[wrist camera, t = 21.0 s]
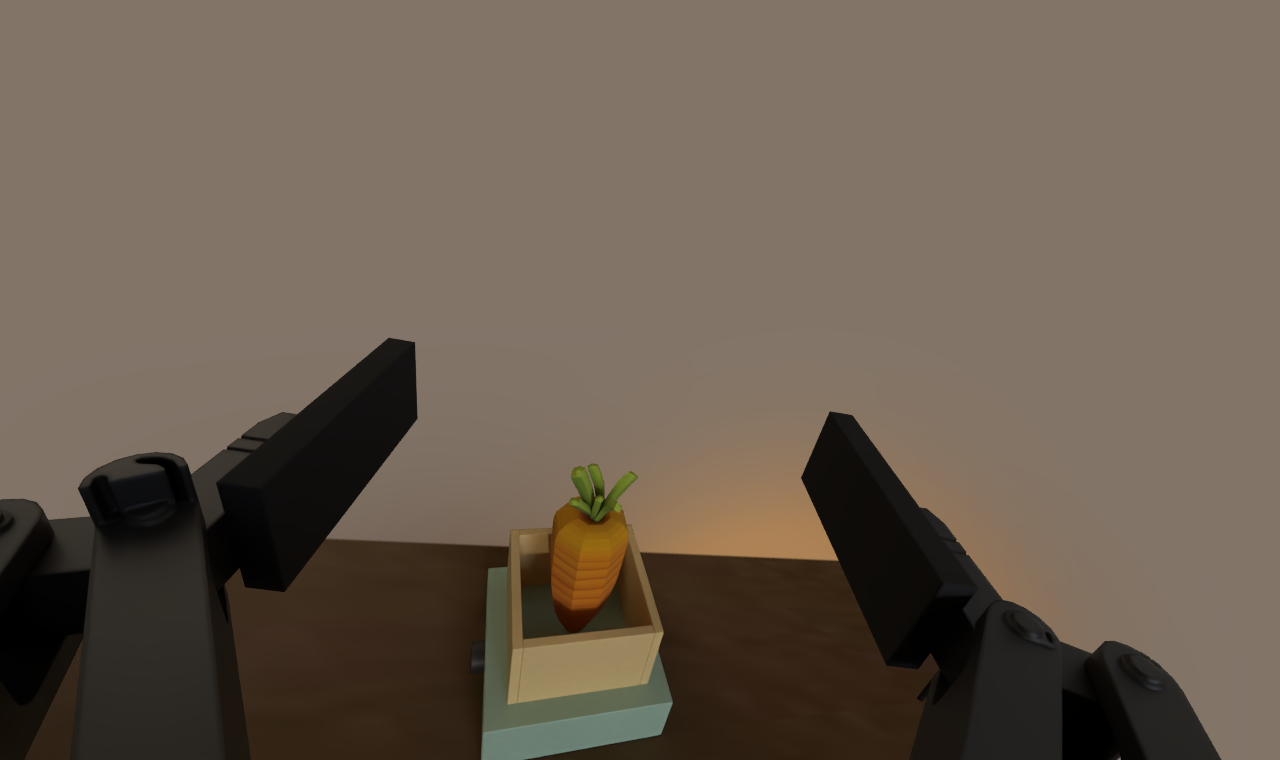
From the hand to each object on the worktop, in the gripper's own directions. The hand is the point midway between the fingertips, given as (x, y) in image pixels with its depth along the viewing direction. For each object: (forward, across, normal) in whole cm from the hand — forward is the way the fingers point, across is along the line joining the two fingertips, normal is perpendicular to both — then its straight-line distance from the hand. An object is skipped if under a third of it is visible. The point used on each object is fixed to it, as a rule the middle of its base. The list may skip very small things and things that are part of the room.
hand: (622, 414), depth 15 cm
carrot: (+10, 0, -25) cm, 27 cm away
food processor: (+10, 0, -29) cm, 30 cm away
